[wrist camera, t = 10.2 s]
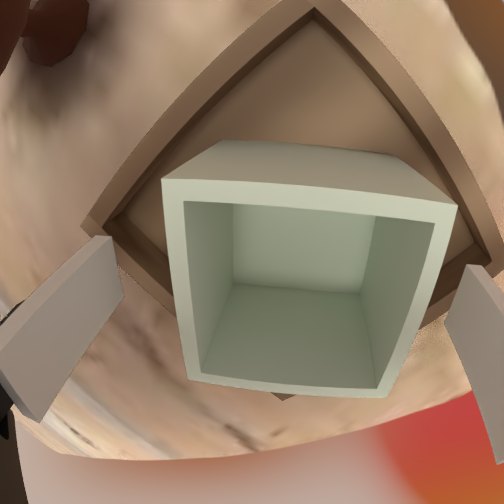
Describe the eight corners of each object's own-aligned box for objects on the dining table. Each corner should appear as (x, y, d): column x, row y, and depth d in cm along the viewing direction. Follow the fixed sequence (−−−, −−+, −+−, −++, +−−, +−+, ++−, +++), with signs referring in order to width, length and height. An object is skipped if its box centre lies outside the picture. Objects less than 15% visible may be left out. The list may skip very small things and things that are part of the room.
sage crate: (224, 284, 18) (187, 379, 12) (222, 140, 14) (161, 178, 8) (366, 297, 17) (386, 397, 11) (393, 154, 13) (458, 205, 7)
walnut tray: (108, 206, 18) (80, 226, 15) (312, -3, 11) (314, -24, 8) (285, 367, 22) (282, 400, 19) (487, 238, 15) (510, 263, 12)
